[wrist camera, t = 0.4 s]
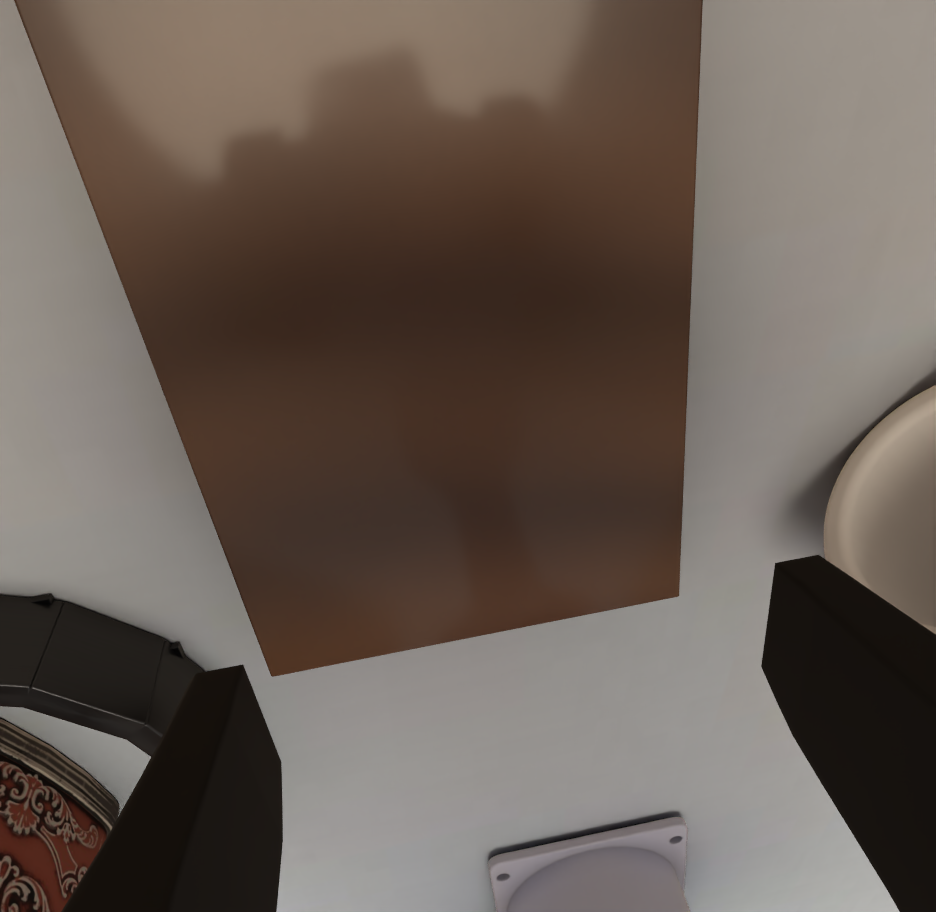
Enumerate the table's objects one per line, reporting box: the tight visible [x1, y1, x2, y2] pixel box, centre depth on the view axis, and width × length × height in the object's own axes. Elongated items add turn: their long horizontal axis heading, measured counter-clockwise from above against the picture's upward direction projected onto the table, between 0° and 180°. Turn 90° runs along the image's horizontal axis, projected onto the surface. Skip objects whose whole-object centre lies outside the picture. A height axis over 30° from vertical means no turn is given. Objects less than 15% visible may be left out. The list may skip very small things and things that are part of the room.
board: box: [14, 0, 703, 677], centre depth 18 cm, size 20×12×1 cm, turn 7°
